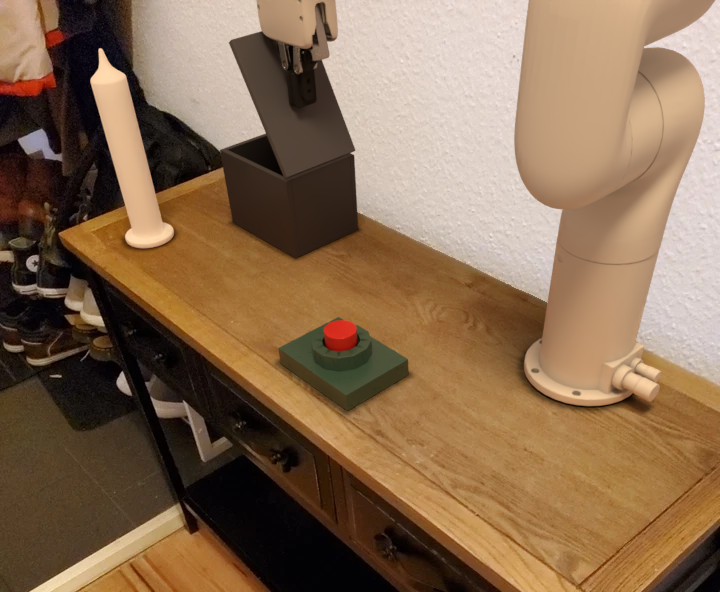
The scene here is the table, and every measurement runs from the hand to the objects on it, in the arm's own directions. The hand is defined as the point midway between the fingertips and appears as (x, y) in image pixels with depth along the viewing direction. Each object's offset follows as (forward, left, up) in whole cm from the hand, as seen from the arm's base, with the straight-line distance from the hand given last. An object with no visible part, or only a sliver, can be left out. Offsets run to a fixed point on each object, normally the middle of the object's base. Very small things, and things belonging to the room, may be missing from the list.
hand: (303, 103), depth 94 cm
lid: (+2, 0, 0) cm, 2 cm away
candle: (+18, +17, -18) cm, 31 cm away
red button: (-27, +17, -15) cm, 35 cm away
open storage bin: (+5, 0, -18) cm, 19 cm away
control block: (-27, +18, -18) cm, 37 cm away
